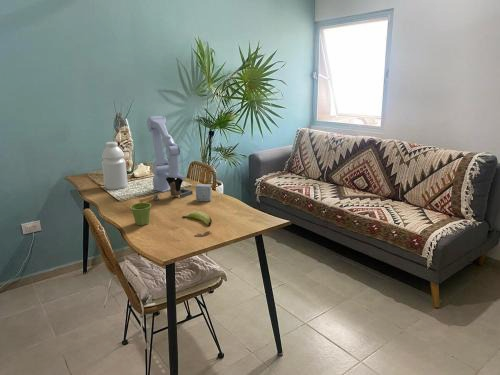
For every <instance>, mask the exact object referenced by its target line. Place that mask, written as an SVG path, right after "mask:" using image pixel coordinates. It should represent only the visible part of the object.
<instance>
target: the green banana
mask: <svg viewBox="0 0 500 375" xmlns="http://www.w3.org/2000/svg"><path fill="white" fill-rule="evenodd" d="M203 211H206V210H205V209H203ZM203 211H202V212H201V211H192V212H190V213H189V214H188V215H184V216H181V218H182V219H194V220H198V221H200V222H203V223H205V225H207V226H211V224H212V222H213V220H212V218H211V217H210V216H209V215H208V214H207V213H205V212H203ZM195 227H196V226H193V228H195ZM210 231H211V230H208V231H205V232H204V233H203V234H202V233H197V234H194V236H193V237H198V238H199V237H205V236H206V237H207V236H209V235H212V232H210Z"/></svg>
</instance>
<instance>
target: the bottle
mask: <svg viewBox="0 0 500 375" xmlns="http://www.w3.org/2000/svg"><path fill="white" fill-rule="evenodd" d="M105 146H106V147H104V150H102V153H101V156H100V157H101V158H102V161H101V167H102V177H103V183H104V184H103V186H104V188H105V189H106V190H111V191H112V190H113V191H116V190H122V189H125V188H128V186H129V182H128V174H127V162H126V159H124V156H125V153H124V151H123V150H122V149H121V148H120V147H119V144H118V142H117V141H107V142H105Z"/></svg>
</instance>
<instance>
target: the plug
mask: <svg viewBox="0 0 500 375" xmlns="http://www.w3.org/2000/svg"><path fill="white" fill-rule="evenodd" d="M169 187H170V190H169V191H170V192H169V193H170V196H171V195H173V196H172V197H177V196H180V194H182V193H181V189H182V188H180V191H176V185H175V182H172V183H170V186H169Z"/></svg>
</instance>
